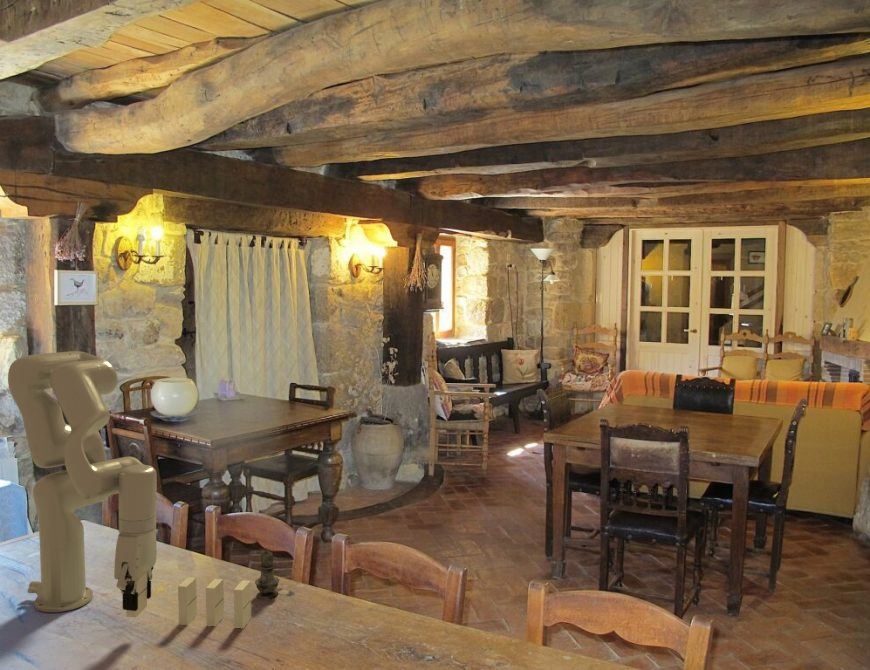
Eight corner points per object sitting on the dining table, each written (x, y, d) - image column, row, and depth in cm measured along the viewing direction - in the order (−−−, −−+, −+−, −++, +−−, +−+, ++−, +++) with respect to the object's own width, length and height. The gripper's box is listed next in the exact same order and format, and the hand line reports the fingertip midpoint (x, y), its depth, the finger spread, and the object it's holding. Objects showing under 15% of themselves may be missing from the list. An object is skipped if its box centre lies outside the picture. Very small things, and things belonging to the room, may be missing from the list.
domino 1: (126, 616, 160) (126, 576, 159) (138, 605, 165) (138, 566, 164) (135, 617, 159) (135, 577, 158) (147, 606, 164) (147, 567, 163)
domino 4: (234, 628, 166) (233, 589, 165) (242, 618, 171) (242, 580, 170) (243, 629, 166) (242, 590, 165) (251, 618, 171) (250, 580, 170)
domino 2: (178, 624, 167) (178, 586, 167) (188, 614, 172) (187, 577, 172) (187, 625, 167) (186, 586, 166) (197, 615, 172) (196, 577, 171)
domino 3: (206, 626, 167) (205, 587, 166) (215, 616, 172) (214, 578, 171) (215, 627, 166) (214, 588, 166) (224, 616, 171) (223, 579, 171)
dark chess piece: (273, 601, 180) (273, 553, 179) (250, 599, 181) (250, 551, 180) (283, 591, 185) (282, 544, 184) (261, 589, 187) (260, 542, 186)
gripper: (141, 508, 168) (140, 584, 171) (98, 536, 152) (98, 620, 154) (172, 511, 168) (171, 588, 170) (133, 539, 151) (133, 624, 153)
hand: (137, 602), depth 162 cm, fingers closed on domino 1, 4 cm apart
